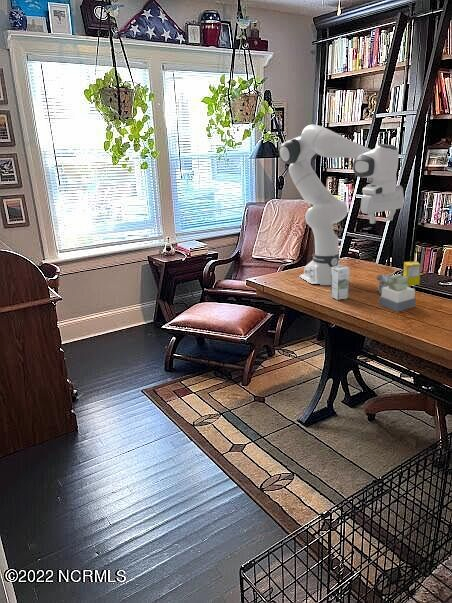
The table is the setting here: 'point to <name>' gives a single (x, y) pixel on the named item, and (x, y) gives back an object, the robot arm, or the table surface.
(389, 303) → the tower base block
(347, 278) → the syrup box
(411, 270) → the supplement box
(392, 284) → the sage cube
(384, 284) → the elephant statuette
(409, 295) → the tower top block
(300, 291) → the table surface
